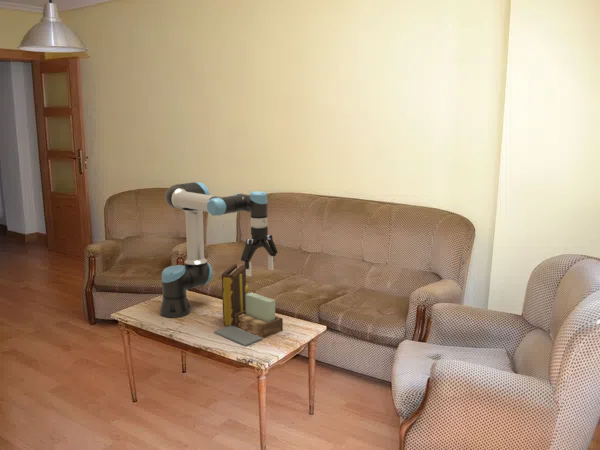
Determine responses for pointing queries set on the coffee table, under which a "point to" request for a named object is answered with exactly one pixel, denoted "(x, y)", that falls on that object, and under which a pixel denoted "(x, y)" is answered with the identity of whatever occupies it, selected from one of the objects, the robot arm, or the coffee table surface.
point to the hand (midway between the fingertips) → (260, 272)
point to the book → (233, 293)
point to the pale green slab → (260, 307)
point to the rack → (266, 325)
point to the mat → (238, 335)
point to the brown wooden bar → (251, 324)
